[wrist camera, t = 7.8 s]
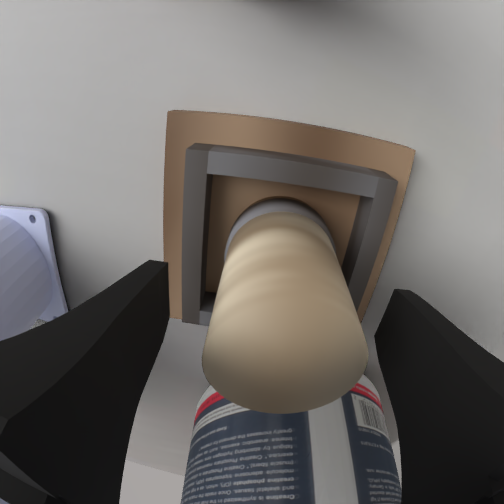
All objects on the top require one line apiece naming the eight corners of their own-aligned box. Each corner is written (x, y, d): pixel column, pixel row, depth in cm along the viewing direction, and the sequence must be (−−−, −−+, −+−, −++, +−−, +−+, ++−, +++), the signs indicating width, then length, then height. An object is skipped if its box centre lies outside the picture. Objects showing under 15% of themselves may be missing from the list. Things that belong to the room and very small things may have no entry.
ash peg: (224, 274, 14) (194, 403, 8) (237, 184, 12) (204, 283, 6) (314, 289, 14) (337, 419, 8) (339, 204, 12) (400, 313, 6)
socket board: (171, 305, 16) (158, 336, 14) (174, 109, 12) (154, 113, 10) (351, 325, 17) (360, 357, 14) (406, 146, 12) (432, 158, 10)
